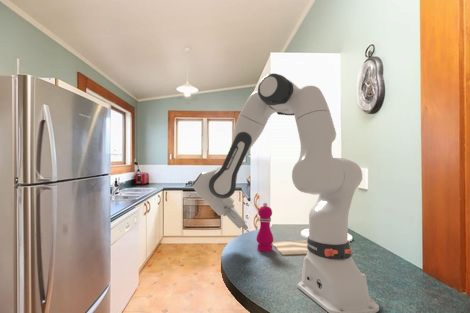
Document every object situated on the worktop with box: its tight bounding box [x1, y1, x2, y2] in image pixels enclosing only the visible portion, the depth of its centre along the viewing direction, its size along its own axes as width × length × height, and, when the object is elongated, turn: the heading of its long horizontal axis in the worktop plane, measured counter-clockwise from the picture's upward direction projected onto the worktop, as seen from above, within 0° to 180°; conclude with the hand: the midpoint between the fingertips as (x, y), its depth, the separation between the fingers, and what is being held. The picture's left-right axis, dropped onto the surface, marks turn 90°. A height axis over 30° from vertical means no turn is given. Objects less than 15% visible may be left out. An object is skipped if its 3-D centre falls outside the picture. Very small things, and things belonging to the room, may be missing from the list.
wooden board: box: [271, 239, 308, 257], centre depth 111 cm, size 16×20×1 cm
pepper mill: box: [255, 202, 274, 253], centre depth 109 cm, size 7×7×20 cm
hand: (246, 228), depth 108 cm, fingers closed
